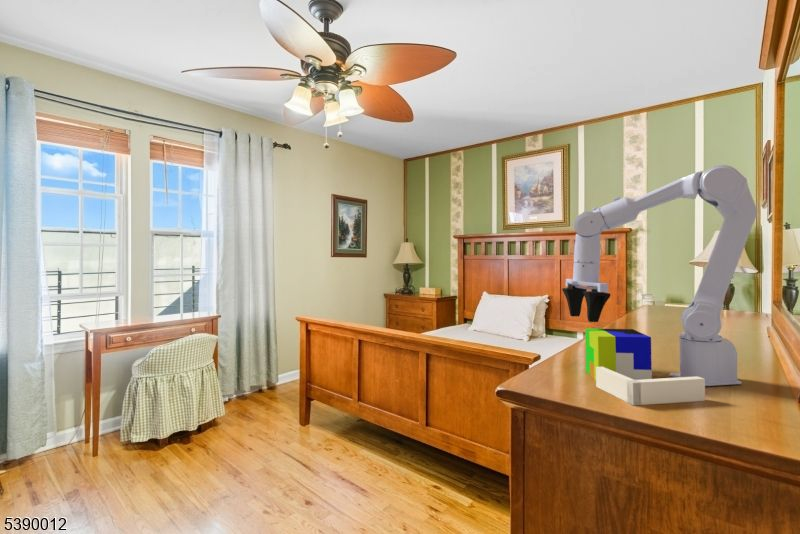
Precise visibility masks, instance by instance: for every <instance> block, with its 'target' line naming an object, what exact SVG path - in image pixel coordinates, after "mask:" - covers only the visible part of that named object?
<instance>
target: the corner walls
mask: <svg viewBox="0 0 800 534" xmlns="http://www.w3.org/2000/svg"><path fill="white" fill-rule="evenodd" d="M595 383H596V384H595V387H596V388H599V389H600V390H602V391H604V392H606V393H608V394H610V395H612V396H614V397H615V398H617V399H620V400H622V401H624V402H625V403H627V404H630V405H632V406H642V405H643V406H645V405H646V406H647V405H657V404H658V405H659V404H660V405H661V404H675V403H677V404H678V403H690V402H691V403H692V402H693V403H694V402H705V401H706V386H705V379H704V378H701V377H698V376H695V377H678V378H675V377H665V378H663V377H662V378H652V379H643V380H634V379H631V378H629V377H626V376H624V375H622V374H619V373H617V372H614V371H612V370H610V369H607V368H605V367H596V380H595Z"/></svg>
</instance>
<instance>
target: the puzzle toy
mask: <svg viewBox="0 0 800 534" xmlns="http://www.w3.org/2000/svg"><path fill="white" fill-rule="evenodd" d="M652 366H653V365H652V337H651V336H649V335H646V334H644V333H642V332H640V331H638V330H635V329H633V328H585V370H586V371H585V372H587V374H588V375H590V376H591V378H592V379H593V380H595V381H596V367H605V368H607V369H610V370H612V371H614V372H617V373H619V374H622V375H624V376H626V377H629V378H631V379H634V380H643V379H653V377H652V375H653V373H652V369H653V368H652Z"/></svg>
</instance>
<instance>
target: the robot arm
mask: <svg viewBox="0 0 800 534" xmlns="http://www.w3.org/2000/svg"><path fill="white" fill-rule="evenodd" d="M698 196H699V198H700V199H702V200H703V201H704V202H706V203H708V204H710V205H711V206H713V207H715V209H716V211H717V212H718V213H719V214H720V215H721V216H722V218H723V221H722V224H721V226H720V230H719V232H718V235H717V237H716V240H715V242H714V245H713V248H712V250H711V253H710V256H709V259H708V261H707V264H706V266H705V269H704V271H703V274H702V277H701V280H700V283H699V285H698V287H697V290H696V292H695V293H694V296H693V298H692V300H691V302H690V304H689V305H688V306H687V307H686V308H684V309H683V310H682V313H681V316H680V320H681V325H682V329H683V330H684V331H683V332H681V333H679V335H678V336H679V372H673V373H669V376H670V377H671V378H678V377H695V376H698V377H701V378H704V379H705V387H711V386H712V387H715V386H730V385H742V381H740V380H739V379H738V351H737V349H736V347H735V344H734V343H733V342H732V341H731V340H729V339H728V338H724V337H723V336H722V335H720V332H721V331H722V321H721V320H722V319H721V313H722V310H723V307H724V302H725V301H724V300H725V297H726V294H727V293H728V292H727V291H728V290H729V287H730V285H731V281H732V279H733V277H734V275H735V271H736V269H737V266H738V264H739V262H740V260H741V255H742V254H743V250H744V248H745V246H746V243H747V241H748V239H749V235H750V233H751V231H752V228H753V225H754V223H755V220H756V219H757V215H758V209H757V205H756V203H755V201H754V198H753V196H752V194H751V190H750V188H749V184H748V179H747V178H746V177H745V176H744V175H743V174H742V173H741V172H739V170H737V168H735V167H733V166H731V165H727V164H720V165H714V166H712V167H710V168H708V169H707V170H705V171H704V170H701V171H697V172H694V173H691V174H689V175H686V176H684V177H681V178H679V179H677V180H676V179H675V180H674V181H672V182H670V183H667V184H664V185H663V186H661V187H658V188H656V189H654V190H652V191H650V192H649V191H648V192H647V193H645V194H643V195H641V196H638V197H637V198H630V197H626V196H623V197H622V198H620V197H619V196H617V197H614V198H613V199H612V200H613V202H612V201H611V202H609V203H607V204H605V205H603V206H601V207H597V206H595V207H593V208H591V211H590V210H587V211H583V212H581V213H579V215H577V216H576V217H575V219H574V220H573V221H574V222H573V229H574V230H575V232H576V233H575V239H574V240H575V241H574V249H573V252H574V253H573V268H572V269H573V270H572V271H573V273H572V278H565V287H562V290H561V291H562V292H563V294H564V296H565V299H566V302H567V306H568V310H569V315H570V317H580V316H581V313H582V312H581V311H582V304H583V300H585V302H586V313H587V314H586V318H587V321H588V322H590V323H599V320H600V317H601V315H602V311H603V308H604V307H605V305H606V303H607V301H608V300H609V299H610V298H611V293H610V292H609V283H606V282H601V281H600V271H601V270H600V266H601V246H602V244H601V234H602V232H603V231H606V232H608V231H609V230H610V231H611V230H612V229H615V228H617V227H620V226H623V225H625V224H628V223H631V222H633V221H636V220H637V218H638V216H639V214H640V213H641V212H643V211H646V210H650V209H651V208H654V207H657V206H660V205H662V204H663V205H664V204H666V203H670V202H671V201H674V200H676V199H677V200H678V199H680V198H681V199H687V200H689V199H690V200H695V199H696V198H697V197H698ZM587 290H588V291H587ZM584 298H585V299H584Z"/></svg>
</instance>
